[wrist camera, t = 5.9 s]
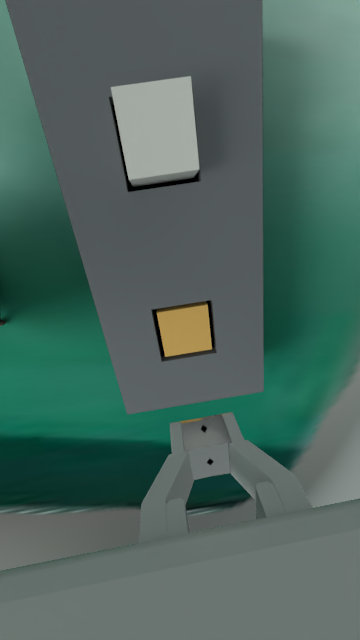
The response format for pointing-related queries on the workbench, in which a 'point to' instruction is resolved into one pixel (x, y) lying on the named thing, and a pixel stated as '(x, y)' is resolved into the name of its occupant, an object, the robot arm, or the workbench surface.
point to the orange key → (185, 328)
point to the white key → (157, 130)
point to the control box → (164, 202)
